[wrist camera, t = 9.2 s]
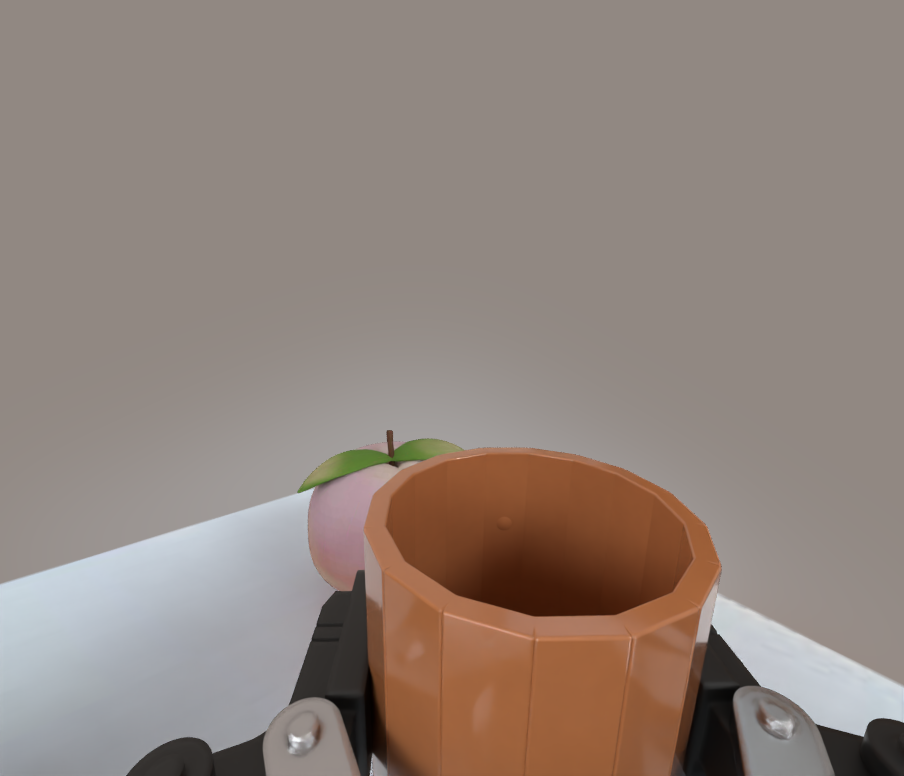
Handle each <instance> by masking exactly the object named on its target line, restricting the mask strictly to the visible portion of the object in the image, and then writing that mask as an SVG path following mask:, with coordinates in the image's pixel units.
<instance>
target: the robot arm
mask: <svg viewBox="0 0 904 776" xmlns="http://www.w3.org/2000/svg"><path fill="white" fill-rule="evenodd" d="M371 759H372V731H371V706H370V681H369V660H368V637H367V611H366V585H365V570H358V571H357V573H356V577H355V581H354V585H353V588H352V591H335V593H334V594H333V595H332V596H331V597H330V598H329V599H328V601H327V602H326V603H325V604H324V605H323V606H322V609H321V612H320V615H319V618H318V621H317V626H316V627H315V630H314V633H313V636H312V641H311V642H310V645H309V648H308V651H307V654H306V657H305V660H304V663H303V666H302V669H301V672H300V675H299V678H298V681H297V684H296V687H295V690H294V692H293V695H292V698H291V701H290V703H289V706H288V707H286V708H285V709H283V710H282V711H281V712H280V713H279V714H278V715H277V716H276V717H275V718H274V719H273V721H272V722H271V724H270V725H269V727H268V729H267V731H265V732H264V733H262V734H261V735H259V736H257V737H256V738H254V739H252V740H249V741H247V742H244V743H241V744H239V745H236V746H233V747H230V748H227V749H224V750H221V751H219V752H216V753H213V754H212V752H211V749H210V747H209V746H208V744H207V743H206V742H204V741H203V740H201V739H198V738H193V737H185V738H179V739H176V740H172V741H170V742H167V743H165V744H163V745H161V746H159V747H158V748H156V749H154V750H153V751H151V752H150V753H149V754H147V755H146V756H145V757H144V758H142V759H141V760H140V761H139V762H138V763H137V764H136V765H135V766H134V767H133V768H132V769H131V770H130V772H129V773H128V774H127V775H126V776H369V775H370V767H371ZM683 771H684V773H685V775H686V776H904V723H903V722H900V721H896V720H892V719H885V718H880V719H875V720H872V721H871V722H869V724H868V726H867V729H866V732H865V735H864V737H862V736H858V735H854V734H850V733H847V732H843V731H839V730H835V729H831V728H828V727H824V726H820V725H817V724H815V723H814V722H813V720H812V719H811V718H810V717H809V716H808V715H807V713H806V712H805V711H804V710H802V709H801V708H800V707H799V706H798V705H797V704H795V703H794V702H792V701H791V700H790V699H788V698H786V697H785V696H783V695H781V694H779V693H777V692H775V691H772V690H770V689H767V688H763V687H761V686H760V685H759V684H758V682H757V681H756V680H755V679H754V677H753V676H752V675H751V674H750V672H749V671H748V670H747V668H746V667H745V666H744V665H743V663H742V662H741V661H740V660H739V658H738V657H737V656H736V655H735V653H734V652H733V651H732V650H731V648H730V647H729V646H728V645H727V643H726V642H725V641H724V640H723V638H722V637H721V636H720V635H719V634H717V632H716V630H715V628H714V627H713V626H712V625H711V626H710V632H709V637H708V642H707V647H706V652H705V657H704V662H703V667H702V673H701V678H700V683H699V688H698V693H697V698H696V703H695V708H694V713H693V719H692V724H691V729H690V734H689V739H688V744H687V749H686V754H685V760H684V765H683Z"/></svg>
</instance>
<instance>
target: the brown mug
mask: <svg viewBox="0 0 904 776" xmlns="http://www.w3.org/2000/svg"><path fill="white" fill-rule="evenodd" d="M363 534H364V560H365V585H366V611H367V637H368V660H369V681H370V706H371V731H372V764H373V776H681V775H682V770H683V765H684V760H685V754H686V749H687V744H688V739H689V734H690V729H691V724H692V719H693V713H694V708H695V703H696V698H697V693H698V688H699V683H700V678H701V673H702V667H703V662H704V657H705V652H706V647H707V642H708V637H709V632H710V626H711V621H712V616H713V611H714V606H715V601H716V596H717V590H718V585H719V580H720V575H721V567H722V566H721V563H720V560H719V558H718V555H717V552H716V550H715V547H714V544H713V541H712V538H711V536H710V533H709V530H708V527H707V526H706V525H705V523H704V522H703V521H701V520H700V519H699V518H698V517H697V516H696V515H695V514H694V513H693V512H692V511H690V510H689V509H688V508H687V507H686V506H685V505H684V504H683V503H682V502H681V501H679V500H678V499H677V498H676V497H675V496H674V495H673V494H671V493H670V492H669V491H666V490H665V489H663V488H661V487H659V486H657V485H655V484H653V483H651V482H649V481H647V480H645V479H643V478H641V477H639V476H637V475H636V474H634V473H632V472H630V471H628V470H624V469H622V468H619V467H616V466H613V465H609V464H606V463H603V462H599V461H596V460H592V459H589V458H586V457H583V456H580V455H575V454H568V453H562V452H555V451H548V450H541V449H535V448H477V449H471V450H465V451H459V452H453V453H447V454H441V455H437V456H434V457H432V458H429V459H427V460H424V461H422V462H419V463H417V464H414V465H412V466H409V467H407V468H404V469H402V470H401V471H399V472H398V473H397V474H396V475H394V476H393V477H392V478H391V479H390V480H389V481H388V482H386V483H385V484H384V485H383V486H382V487H381V488H380V489H378V490H377V491H376V492H375V493H374V495H373V496H372V499H371V503H370V506H369V510H368V513H367V517H366V520H365V524H364V527H363Z"/></svg>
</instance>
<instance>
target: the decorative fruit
mask: <svg viewBox="0 0 904 776" xmlns="http://www.w3.org/2000/svg"><path fill="white" fill-rule="evenodd" d="M459 451H465V450H463V449H462V448H460V447H458V446H456V445H454V444H452V443H449V442H447V441H443V440H438V439H418V440H413V441H409V442H393V431H392V430H387V442H382V443H377V444H371V445H367V446H363V447H360V448H358V449H356V450H350V451H346V452H343V453H340V454H337V455H335V456H333V457H331V458H330V459H328V460H326V461H325V462H324V463H322V464H321V465H320V466H319V467H318V468H316V469H315V470H314V471H313V472H312V473H311V474H310V475H309V476H308V478H307V479H306V480H305V481H304V483H303V484H302V486H301V487H300V489H299V490H298V493H301V492H303V491H306V490H308V489H311V488H313V487H315V486H316V487H315V489H314V491H313V494H312V497H311V500H310V505H309V512H308V539H309V548H310V554H311V557H312V560H313V563H314V565H315V567H316V569H317V571H318V572H319V573H320V575H321V576H322V577H323V579H324V580H325V581H326V582H327V583H329V584H330V585H331V586H332V587H334V588H335V589H336V590H338V591H352V588H353V585H354V581H355V577H356V573H357V571H358V570H365V560H364V534H363V527H364V524H365V520H366V517H367V513H368V510H369V506H370V503H371V499H372V496H373V495H374V493H375V492H376V491H377V490H378V489H380V488H381V487H382V486H383V485H384V484H385V483H386V482H388V481H389V480H390V479H391V478H392V477H393V476H394V475H396V474H397V473H398V472H399V471H401V470H402V469H404V468H407V467H409V466H412V465H414V464H417V463H419V462H422V461H424V460H427V459H429V458H432V457H434V456H437V455H441V454H447V453H453V452H459Z"/></svg>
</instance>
